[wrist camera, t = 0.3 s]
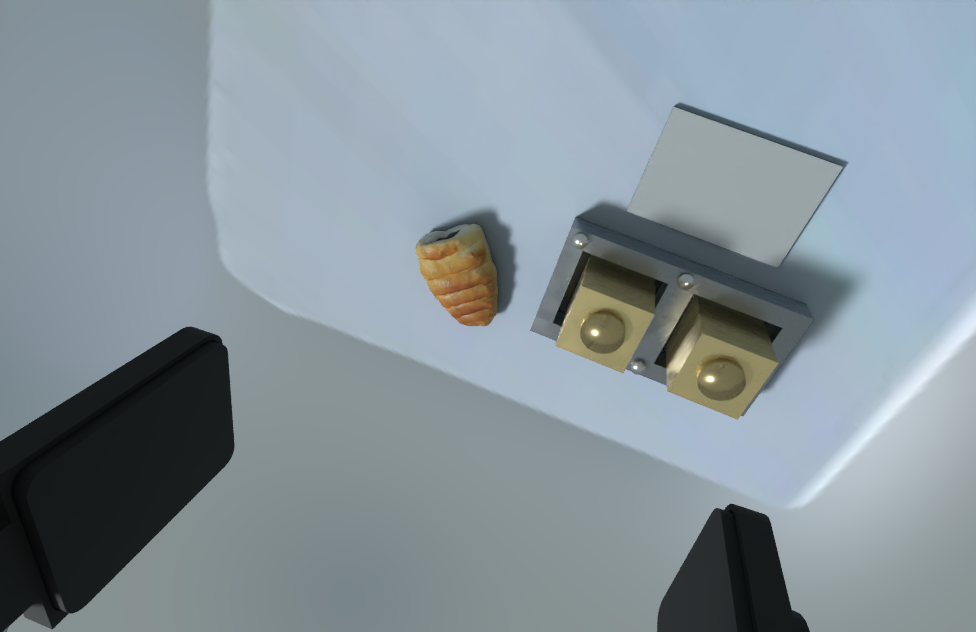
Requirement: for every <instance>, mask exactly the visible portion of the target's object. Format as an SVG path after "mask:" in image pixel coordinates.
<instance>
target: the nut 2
mask: <svg viewBox="0 0 976 632" xmlns="http://www.w3.org/2000/svg"><path fill="white" fill-rule="evenodd" d="M777 365H778V360H777V357H776V354H775V351H774V349H773V346H772V343H771V340H770V337H769V335H768V332H767V329H766V326H765V323H764V321H763V320H760V319H758V318H755V317H753V316H750V315H747V314H745V313H742V312H740V311H737V310H735V309H732V308H729V307H727V306H724V305H722V304H719V303H716V302H714V301H711V300H709V299H706V298H703V297H701V296H698V295H696V294H695V295H694V297H693V298H692V300H691V302H690V303H689V305H688V307H687V309H686V310H685V312H684V314H683V316H682V317H681V319H680V321H679V323H678V324H677V326H676V328H675V330H674V331H673V333H672V335H671V337H670V338H669V340H668V342H667V344H666V366H667V391H668V392H671V393H673V394H676V395H678V396H681V397H683V398H685V399H688V400H690V401H693V402H695V403H698V404H700V405H703V406H705V407H708V408H710V409H713V410H715V411H718V412H720V413H723V414H725V415H728V416H730V417H732V418H735V419H737V420H738V418H739V417H740V416H741V414H742V413H743V411H744V410H745V409H746V407H747V406H748V405H749V403H750V402H751V400H752V399H753V398H754V396H755V395H756V394H757V392H758V391H759V390H760V388H761V387H762V385H763V384H764V383H765V381H766V380H767V379H768V377H769V376H770V374H771V373H772V372H773V370H774V369H775V368H776V366H777Z"/></svg>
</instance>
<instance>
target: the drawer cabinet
mask: <svg viewBox="0 0 976 632" xmlns="http://www.w3.org/2000/svg"><path fill="white" fill-rule="evenodd" d="M583 251H584V252H587V253H590V254H592V255H595V256H597V257H600V258H602V259H605V260H608V261H610V262H613V263H615V264H618V265H621V266H623V267H626V268H628V269H631V270H634V271H636V272H639V273H641V274H644V275H646V276H649V277H652V278H654V279H657V280H659V281H662V284H661V286H660V288H659V290H658V292H657V293H656V295H655V315H654V317H653V319H652V321H651V323H650V325H649V326H648V328H647V330H646V332H645V334H644V336H643V338H642V339H641V341H640V343H639V345H638V347H637V349H636V350H635V352H634V354H633V356H632V358H631V360H630V362H629V363H628V365H627V367H626V369H627V370H630V371H632V372H633V373H635V374H639V375H642V376H644V377H647V378H649V379H652V380H654V381H657V382H659V383H662V384H664V385H667V366H666V353H664V352H662V351H661V350H662V348H663V346H664V345H665V343H666V341H667V339H668V338H669V336H670V334H671V332H672V331H673V329H674V327H675V325H676V324H677V322H678V320H679V318H680V317H681V315H682V313H683V311H684V310H685V308H686V306H687V304H688V303H689V301H690V299H691V297H692V296H693V294H696V295H698V296H701V297H703V298H706V299H709V300H711V301H714V302H716V303H719V304H722V305H724V306H727V307H729V308H732V309H735V310H737V311H740V312H742V313H745V314H747V315H750V316H753V317H755V318H758V319H760V320H763V321H766V322H768V323H770V324H769V325H768V326H767V328H766V329H767V332H768V335H769V337H770V340H771V343H772V346H773V349H774V351H775V354H776V357H777V360H778V365H777V366H776V368H775V369H774V370H773V372H772V373H771V374H770V376H769V377H768V379H767V380H766V381H765V383H764V384H763V385H762V387H761V388H760V390H759V391H758V392H757V394H756V395H755V396H754V398H753V399H752V400H751V402H750V403H749V405H748V406H747V407H746V409H745V410H744V411H743V413H742V414H741V416H744V414H745V413H746V412H747V410H748V409H749V408H750V406H751V405H752V404H753V402H754V401H755V399H756V398H757V397H758V395H759V394H760V393H761V391H762V390H763V389H764V387H765V386H766V384H767V383H768V382H769V380H770V379H771V378H772V376H773V375H774V374H775V372H776V371H777V369H778V368H779V367H780V365H781V364H782V363H783V361H784V360H785V359H786V357H787V356H788V354H789V353H790V352H791V350H792V349H793V348H794V346H795V345H796V344H797V342H798V341H799V339H800V338H801V337H802V335H803V334H804V333H805V331H806V330H807V329H808V327H809V326H810V324H811V323H812V322H813V320H814V318H813V317H812V315H811V313H810V311H809V309H808V307H807V305H806V304H803V303H801V302H798V301H795V300H793V299H790V298H788V297H785V296H782V295H780V294H777V293H774V292H772V291H769V290H767V289H764V288H761V287H759V286H756V285H753V284H751V283H748V282H746V281H743V280H740V279H738V278H735V277H732V276H730V275H727V274H725V273H722V272H719V271H717V270H714V269H711V268H709V267H706V266H703V265H701V264H698V263H696V262H693V261H690V260H688V259H685V258H682V257H680V256H677V255H675V254H672V253H669V252H667V251H664V250H661V249H659V248H656V247H654V246H651V245H648V244H646V243H643V242H640V241H638V240H635V239H633V238H630V237H627V236H625V235H622V234H619V233H617V232H614V231H612V230H609V229H606V228H604V227H601V226H598V225H596V224H593V223H591V222H588V221H585V220H583V219H580V218H577V217H576V218H575V220H574V222H573V225H572V227H571V230H570V232H569V235H568V237H567V240H566V242H565V245H564V247H563V250H562V252H561V255H560V257H559V260H558V262H557V265H556V267H555V270H554V272H553V275H552V277H551V280H550V282H549V285H548V287H547V290H546V292H545V295H544V297H543V300H542V302H541V305H540V307H539V310H538V312H537V315H536V317H535V320H534V322H533V325H532V327H531V330H530V331H533V332H535V333H538V334H540V335H543V336H545V337H548V338H550V339H553V340H555V341H557V339H558V336H559V333H560V330H561V327H562V323H563V320H564V317H565V314H566V313H564V312H561V311H559V310H558V309H559V306H560V304H561V301H562V299H563V297H564V294H565V292H566V290H567V287H568V285H569V282H570V280H571V278H572V275H573V273H574V271H575V268H576V266H577V264H578V261H579V259H580V256H581V254H582V252H583Z"/></svg>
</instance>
